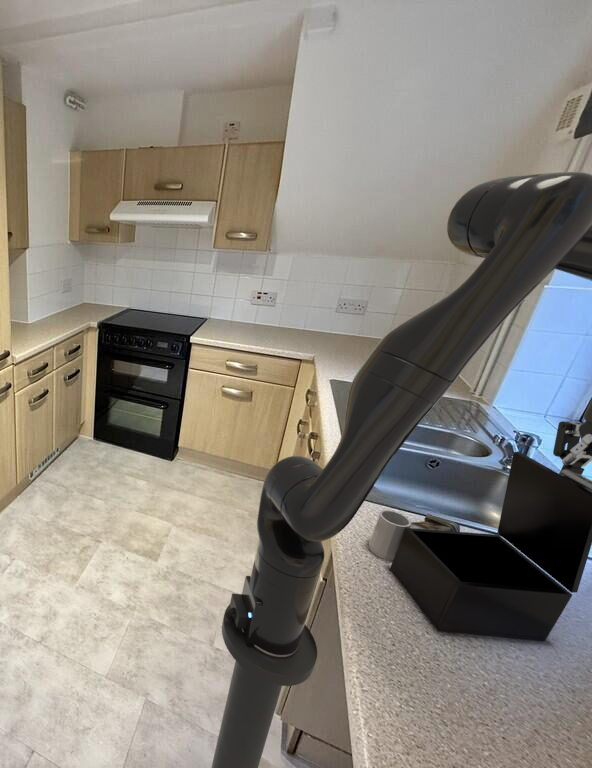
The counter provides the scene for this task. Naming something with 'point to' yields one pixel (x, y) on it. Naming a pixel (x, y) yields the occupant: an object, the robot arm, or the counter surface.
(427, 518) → the checkered cake slice
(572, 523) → the black box lid
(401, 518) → the cup
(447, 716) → the counter surface
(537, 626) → the black hollow box
